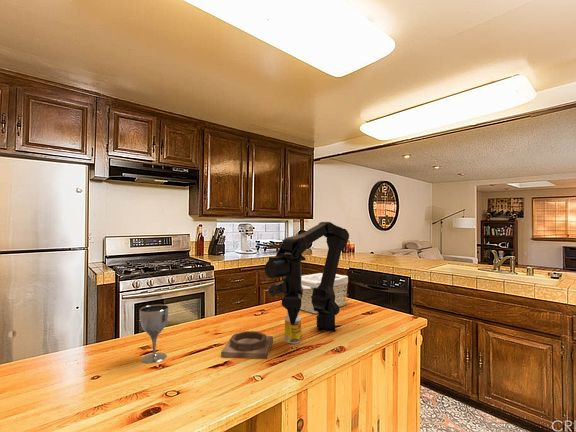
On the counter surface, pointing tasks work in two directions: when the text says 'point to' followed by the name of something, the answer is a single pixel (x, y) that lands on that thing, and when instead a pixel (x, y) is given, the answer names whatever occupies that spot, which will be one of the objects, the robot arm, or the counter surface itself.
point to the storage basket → (314, 281)
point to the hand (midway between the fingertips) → (293, 319)
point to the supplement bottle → (292, 330)
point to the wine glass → (154, 328)
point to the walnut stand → (248, 345)
